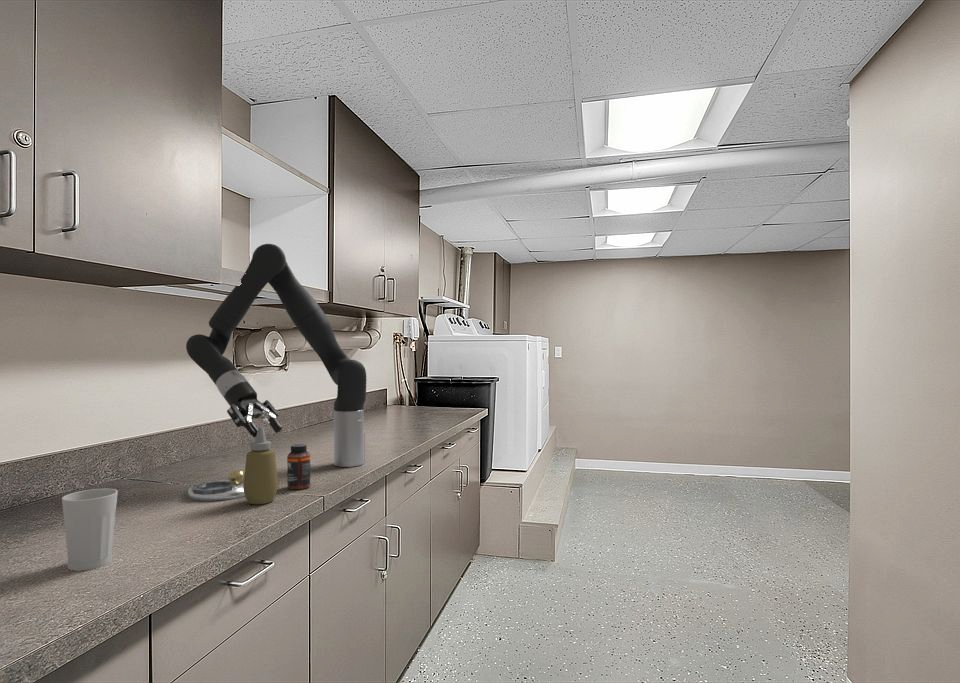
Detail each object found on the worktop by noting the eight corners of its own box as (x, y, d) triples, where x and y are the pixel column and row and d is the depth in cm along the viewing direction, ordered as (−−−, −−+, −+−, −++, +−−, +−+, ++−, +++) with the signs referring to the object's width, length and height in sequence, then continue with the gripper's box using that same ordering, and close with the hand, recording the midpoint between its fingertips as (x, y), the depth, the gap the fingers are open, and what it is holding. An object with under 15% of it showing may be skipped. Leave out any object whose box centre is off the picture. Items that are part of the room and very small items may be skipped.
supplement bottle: (314, 484, 151) (314, 443, 151) (305, 490, 145) (305, 447, 145) (293, 484, 151) (293, 442, 151) (283, 490, 145) (283, 446, 146)
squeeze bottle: (265, 495, 140) (265, 424, 140) (285, 500, 136) (285, 426, 136) (235, 503, 134) (235, 428, 134) (255, 508, 129) (255, 430, 129)
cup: (100, 571, 93) (100, 500, 93) (50, 573, 92) (50, 501, 93) (127, 554, 101) (127, 487, 101) (80, 555, 100) (80, 489, 100)
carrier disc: (223, 482, 154) (223, 466, 154) (270, 487, 148) (270, 470, 148) (173, 497, 139) (173, 479, 139) (222, 503, 133) (222, 485, 133)
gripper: (223, 382, 148) (257, 427, 144) (262, 379, 162) (294, 420, 158) (208, 401, 150) (241, 446, 146) (247, 396, 164) (279, 438, 159)
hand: (268, 433), depth 152 cm, fingers open, 8 cm apart
